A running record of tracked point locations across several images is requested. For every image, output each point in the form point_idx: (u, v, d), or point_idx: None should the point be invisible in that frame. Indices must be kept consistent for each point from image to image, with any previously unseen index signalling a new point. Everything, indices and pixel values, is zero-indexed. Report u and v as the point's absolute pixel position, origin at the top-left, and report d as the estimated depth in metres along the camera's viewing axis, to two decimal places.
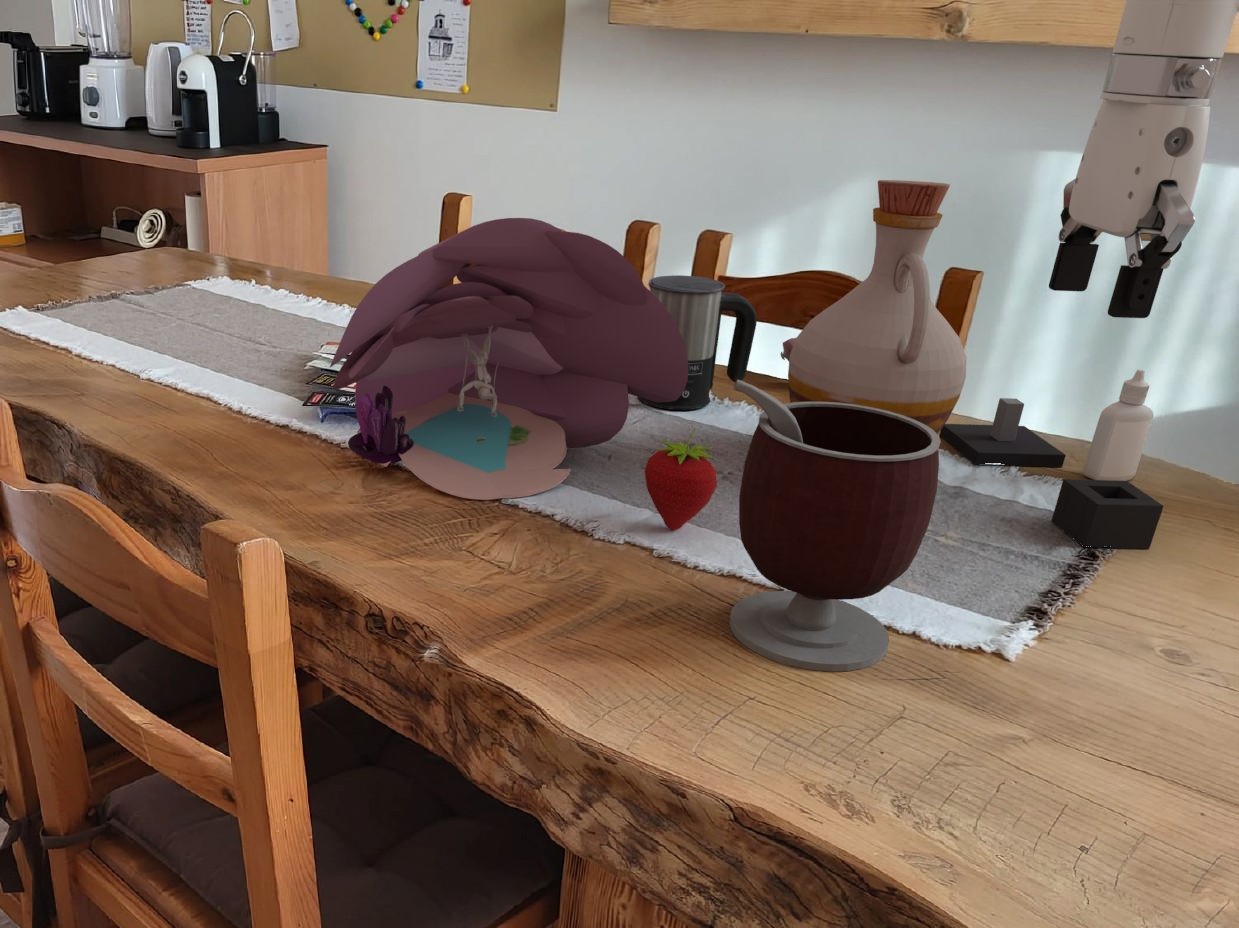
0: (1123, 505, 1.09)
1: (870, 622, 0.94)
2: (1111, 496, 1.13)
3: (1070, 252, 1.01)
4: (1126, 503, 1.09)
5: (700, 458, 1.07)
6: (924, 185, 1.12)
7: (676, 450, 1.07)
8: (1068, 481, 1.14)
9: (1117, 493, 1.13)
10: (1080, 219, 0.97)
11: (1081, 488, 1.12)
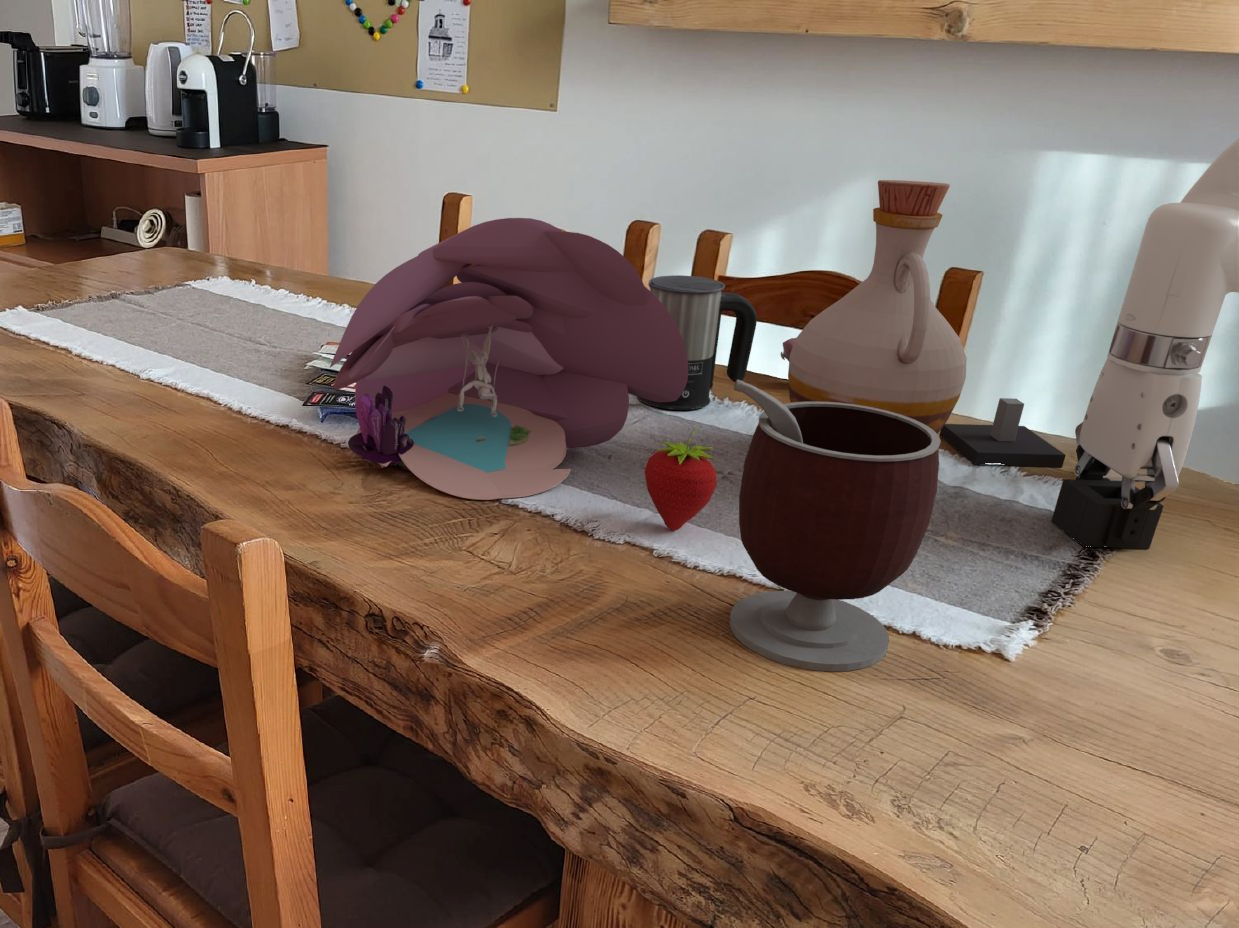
0: None
1: (870, 622, 0.94)
2: (1111, 496, 1.13)
3: None
4: None
5: (700, 458, 1.07)
6: (924, 185, 1.12)
7: (676, 450, 1.07)
8: (1068, 481, 1.14)
9: (1117, 493, 1.13)
10: (1089, 451, 1.12)
11: (1081, 488, 1.12)
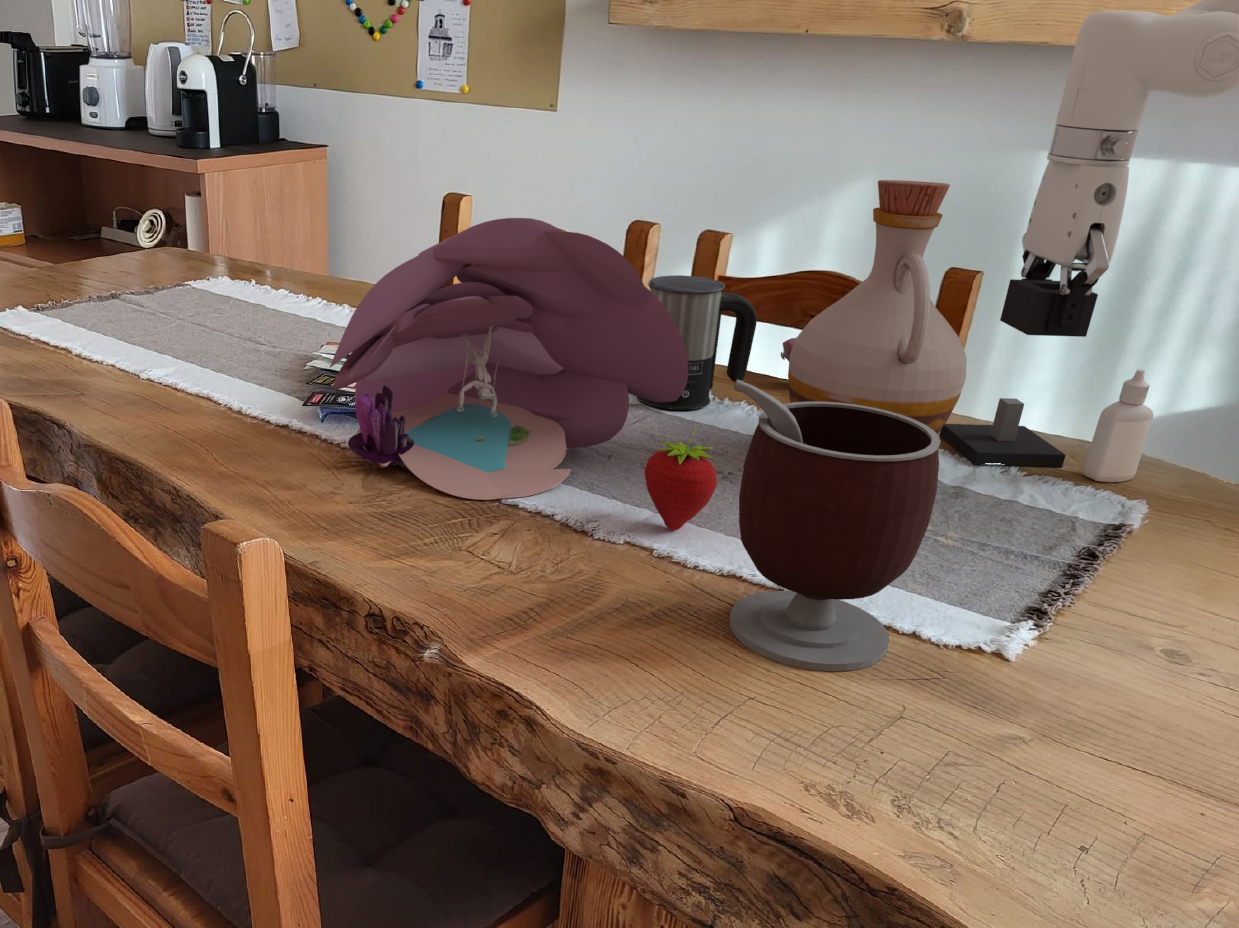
0: None
1: (870, 622, 0.94)
2: None
3: None
4: None
5: (700, 458, 1.07)
6: (924, 185, 1.12)
7: (676, 450, 1.07)
8: (1014, 280, 1.26)
9: None
10: (1033, 251, 1.24)
11: (1025, 284, 1.25)
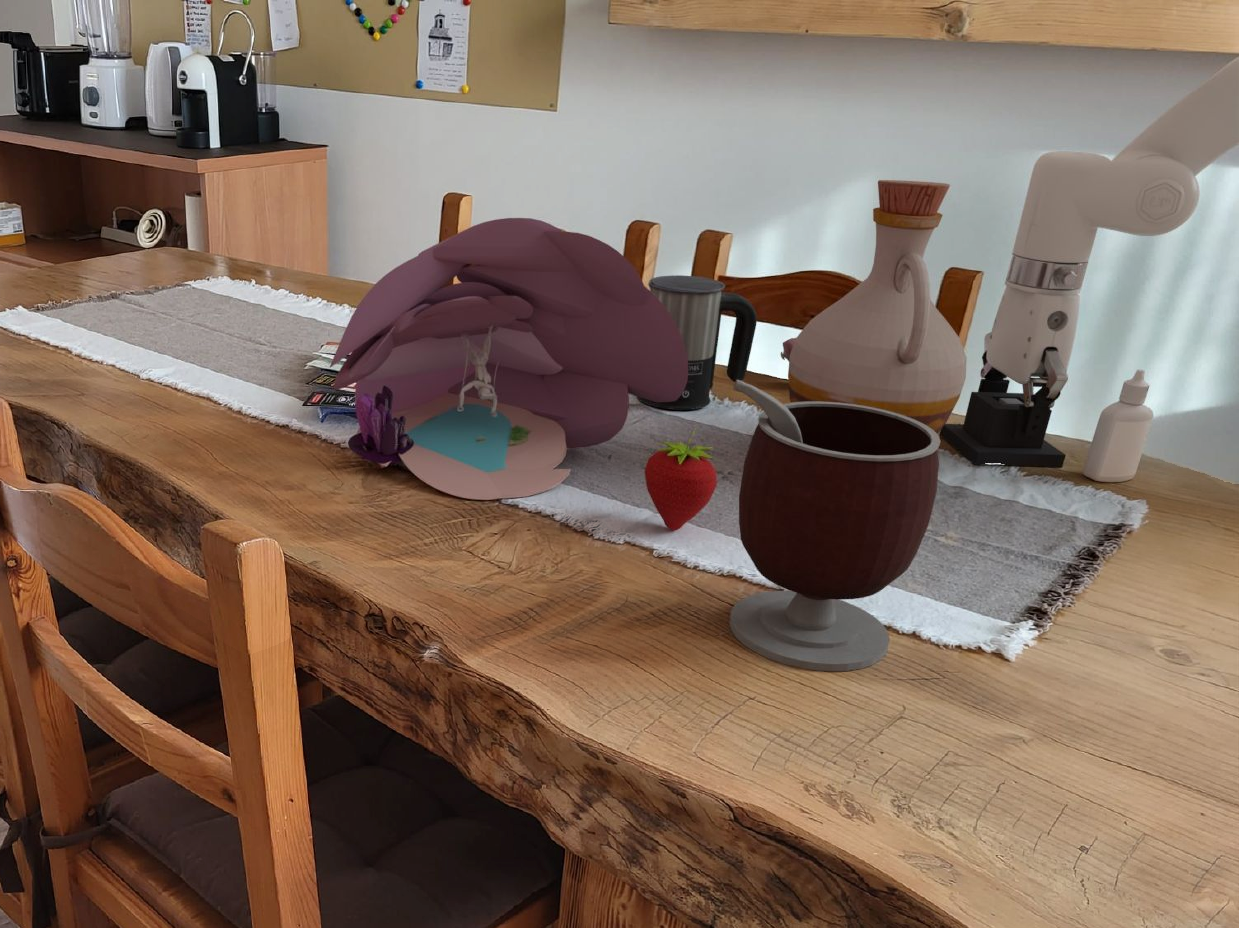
0: None
1: (870, 622, 0.94)
2: None
3: (988, 386, 1.36)
4: None
5: (700, 458, 1.07)
6: (924, 185, 1.12)
7: (676, 450, 1.07)
8: (975, 393, 1.34)
9: None
10: (993, 365, 1.33)
11: (985, 398, 1.33)
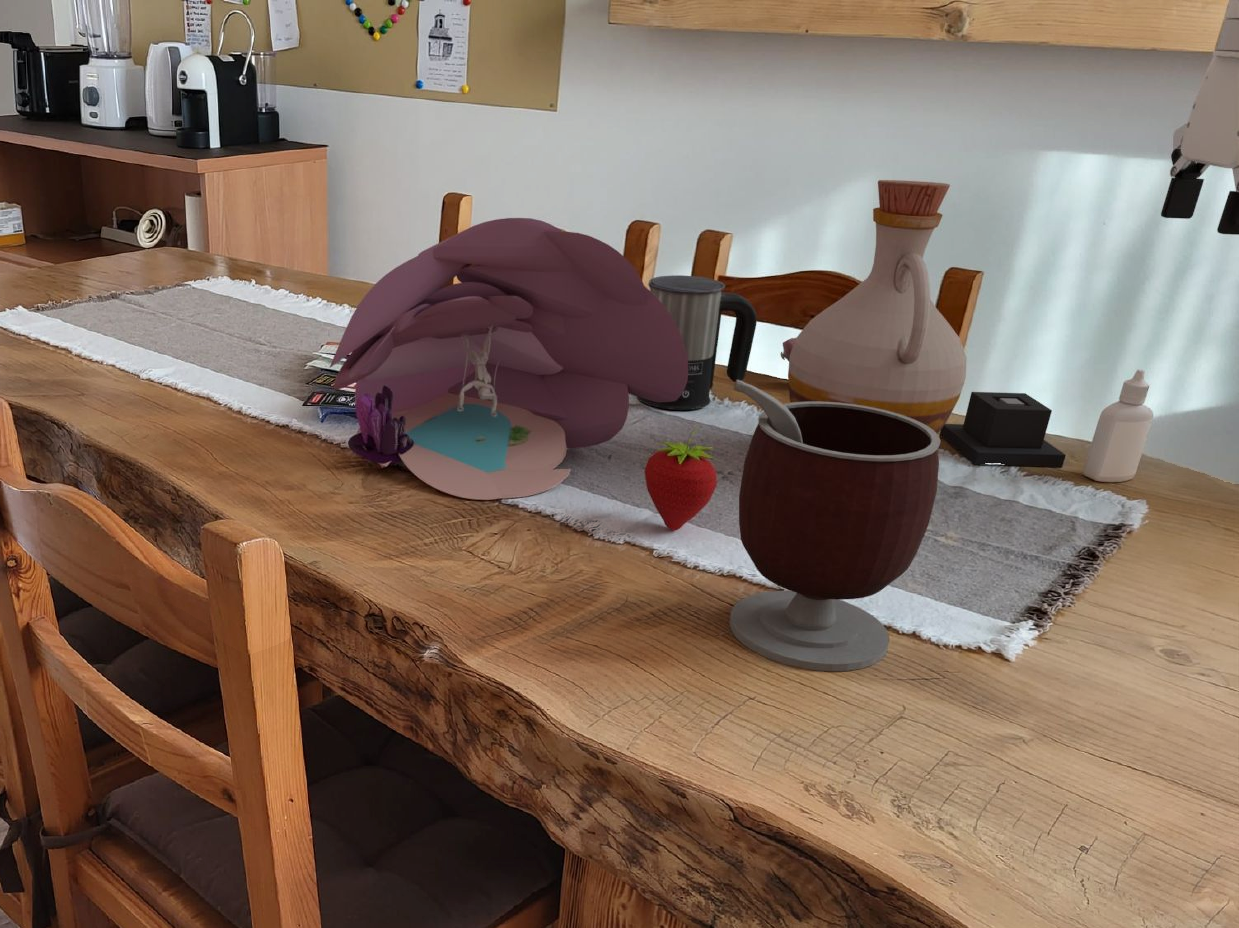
0: (1018, 410, 1.29)
1: (870, 622, 0.94)
2: None
3: (1180, 185, 1.23)
4: (1020, 408, 1.30)
5: (700, 458, 1.07)
6: (924, 185, 1.12)
7: (676, 450, 1.07)
8: (975, 393, 1.34)
9: None
10: (1191, 156, 1.19)
11: (985, 398, 1.33)
